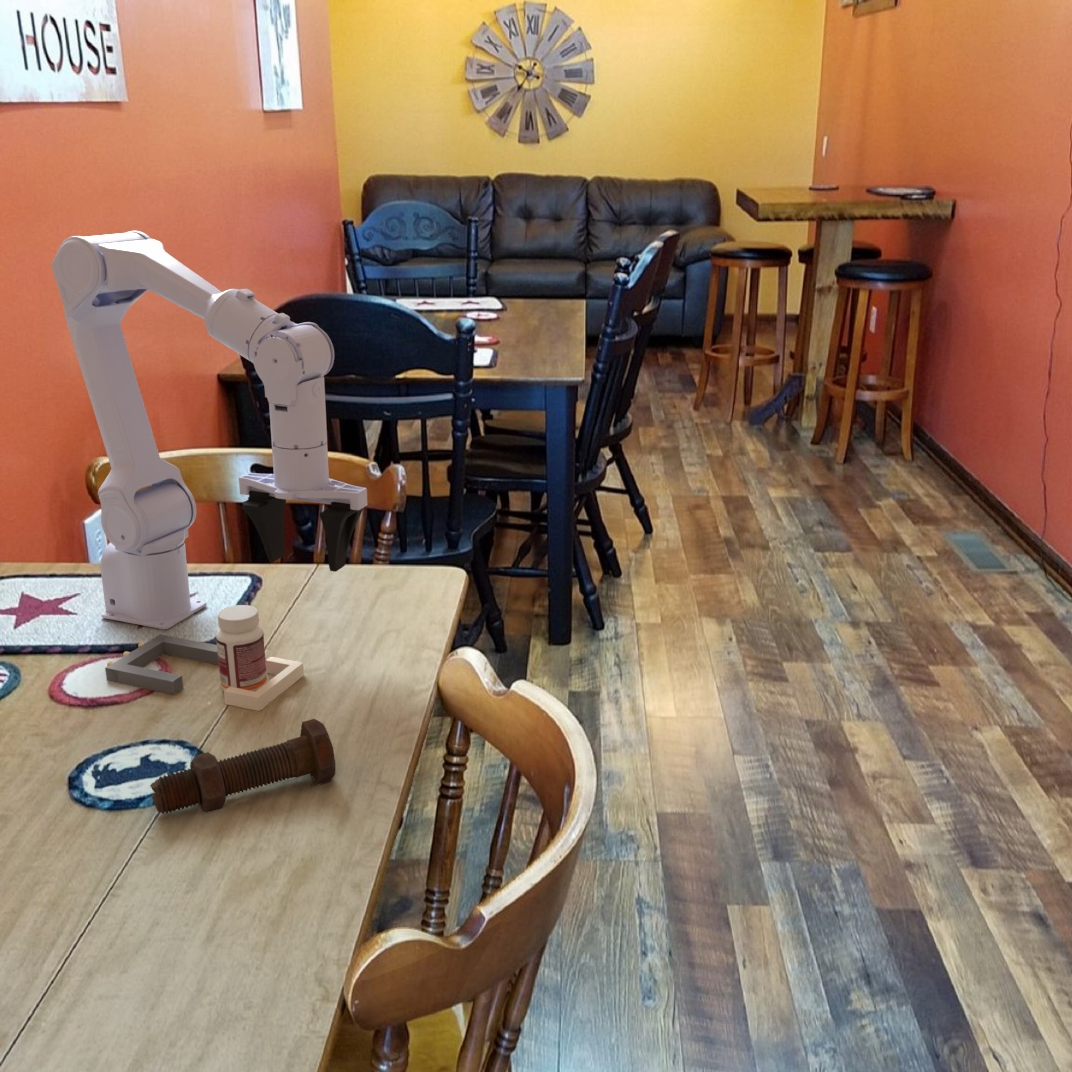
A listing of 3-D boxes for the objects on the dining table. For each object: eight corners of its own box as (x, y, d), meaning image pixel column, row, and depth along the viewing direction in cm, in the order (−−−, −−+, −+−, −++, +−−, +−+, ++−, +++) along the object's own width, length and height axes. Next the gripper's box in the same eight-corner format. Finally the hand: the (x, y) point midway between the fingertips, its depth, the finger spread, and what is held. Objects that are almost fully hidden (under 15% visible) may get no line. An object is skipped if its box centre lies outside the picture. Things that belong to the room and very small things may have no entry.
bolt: (157, 831, 96) (326, 781, 103) (165, 833, 91) (341, 781, 98) (142, 764, 97) (311, 719, 103) (149, 762, 92) (325, 715, 99)
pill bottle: (274, 677, 119) (269, 604, 116) (257, 698, 115) (251, 623, 112) (231, 673, 120) (225, 601, 117) (213, 694, 115) (206, 619, 112)
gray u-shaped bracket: (97, 678, 118) (95, 665, 118) (152, 644, 126) (151, 632, 126) (174, 694, 115) (172, 681, 115) (225, 658, 123) (224, 646, 123)
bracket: (225, 704, 113) (223, 690, 113) (271, 669, 121) (270, 656, 120) (259, 711, 112) (258, 697, 112) (303, 675, 120) (303, 662, 119)
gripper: (218, 444, 116) (228, 566, 121) (341, 459, 112) (347, 585, 116) (256, 429, 122) (264, 545, 127) (375, 442, 118) (379, 563, 122)
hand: (306, 563), depth 122 cm, fingers open, 7 cm apart
